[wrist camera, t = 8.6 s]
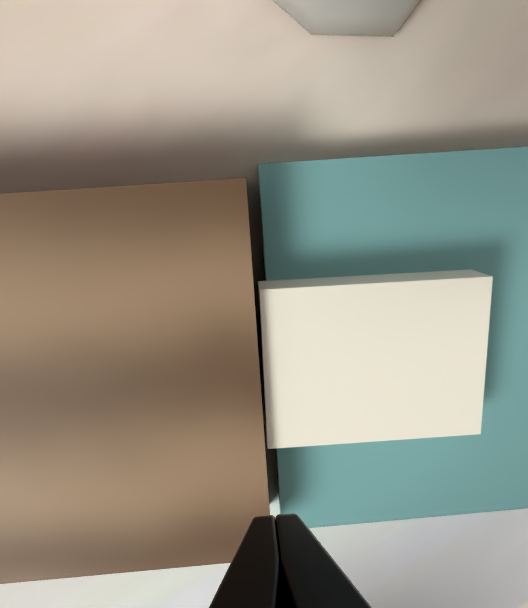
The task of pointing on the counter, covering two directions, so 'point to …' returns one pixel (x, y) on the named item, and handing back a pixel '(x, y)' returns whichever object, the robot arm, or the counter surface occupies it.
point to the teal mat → (409, 259)
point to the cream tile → (374, 357)
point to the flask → (349, 16)
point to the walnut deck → (127, 379)
